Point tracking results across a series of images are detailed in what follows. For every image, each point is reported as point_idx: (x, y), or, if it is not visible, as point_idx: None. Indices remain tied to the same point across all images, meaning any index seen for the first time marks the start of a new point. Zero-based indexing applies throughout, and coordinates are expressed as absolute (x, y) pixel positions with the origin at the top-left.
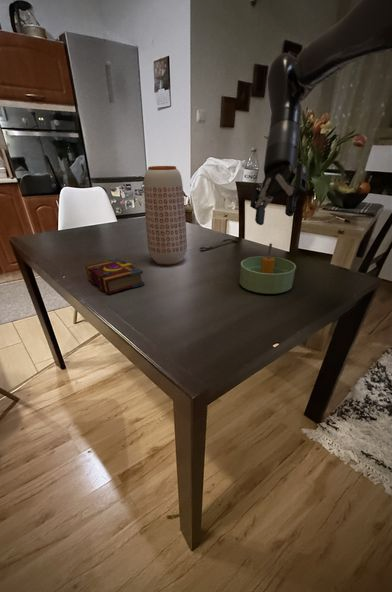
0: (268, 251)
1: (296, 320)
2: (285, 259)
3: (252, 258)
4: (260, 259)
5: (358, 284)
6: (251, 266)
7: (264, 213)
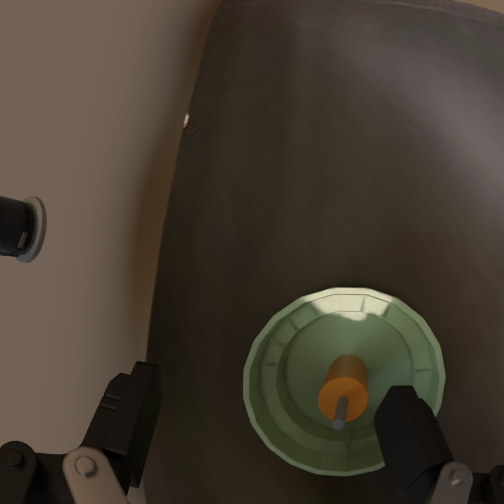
0: (345, 408)
1: (186, 223)
2: (312, 469)
3: None
4: None
5: (160, 481)
6: None
7: (390, 478)
